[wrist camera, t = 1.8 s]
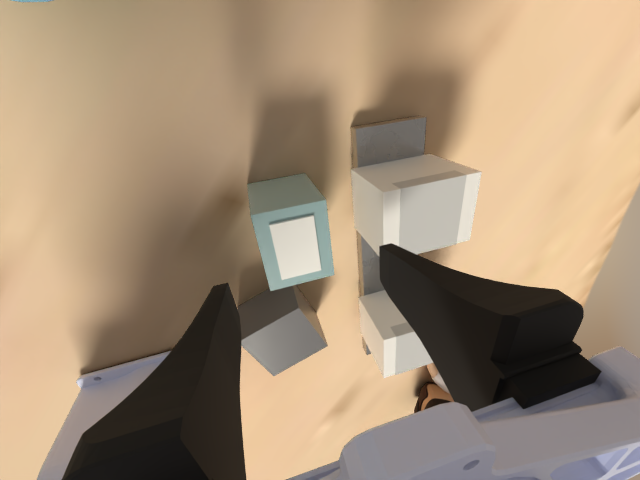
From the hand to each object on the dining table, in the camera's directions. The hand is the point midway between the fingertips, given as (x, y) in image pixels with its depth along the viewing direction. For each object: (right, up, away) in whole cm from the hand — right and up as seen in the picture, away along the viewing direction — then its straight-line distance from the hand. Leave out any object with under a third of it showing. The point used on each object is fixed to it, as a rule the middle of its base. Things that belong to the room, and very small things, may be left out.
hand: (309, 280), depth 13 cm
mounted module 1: (+5, +6, +9) cm, 12 cm away
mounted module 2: (+7, -4, +14) cm, 16 cm away
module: (-2, +4, +7) cm, 9 cm away
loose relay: (-3, -4, +12) cm, 13 cm away
